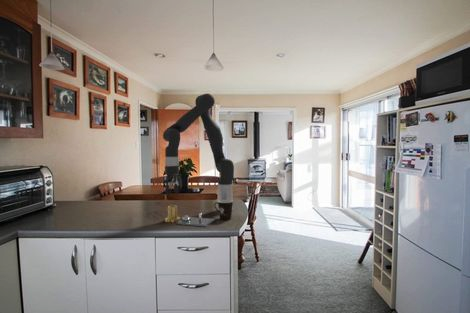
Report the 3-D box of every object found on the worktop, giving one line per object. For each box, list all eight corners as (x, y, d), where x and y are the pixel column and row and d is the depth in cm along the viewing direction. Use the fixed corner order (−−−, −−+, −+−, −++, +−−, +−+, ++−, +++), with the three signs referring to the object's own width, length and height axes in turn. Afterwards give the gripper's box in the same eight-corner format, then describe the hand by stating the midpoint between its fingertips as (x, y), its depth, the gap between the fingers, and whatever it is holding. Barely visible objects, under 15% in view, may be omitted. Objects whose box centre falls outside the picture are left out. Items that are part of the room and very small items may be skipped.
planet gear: (170, 218, 161) (170, 204, 161) (183, 219, 158) (182, 205, 158) (162, 221, 153) (161, 207, 153) (175, 223, 150) (175, 208, 150)
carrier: (187, 218, 160) (187, 209, 159) (214, 220, 154) (214, 211, 154) (176, 224, 148) (176, 214, 148) (205, 226, 143) (205, 217, 143)
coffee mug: (235, 219, 157) (235, 201, 157) (222, 221, 153) (222, 203, 152) (226, 215, 167) (226, 198, 167) (213, 216, 163) (213, 200, 162)
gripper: (172, 164, 163) (173, 191, 163) (158, 165, 149) (159, 195, 150) (184, 164, 160) (184, 192, 161) (170, 165, 147) (171, 196, 147)
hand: (172, 193), depth 155 cm, fingers open, 8 cm apart
